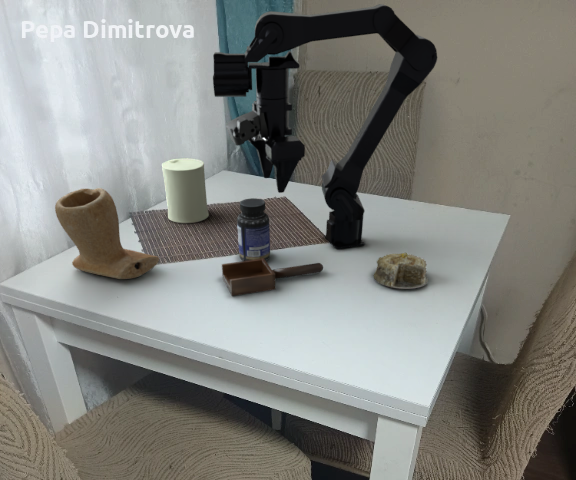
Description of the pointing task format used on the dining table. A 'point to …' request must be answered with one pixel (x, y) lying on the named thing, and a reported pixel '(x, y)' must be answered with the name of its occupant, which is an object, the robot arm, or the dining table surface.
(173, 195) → the can
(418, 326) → the dining table surface
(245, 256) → the pill bottle
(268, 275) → the scoop
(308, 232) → the dining table surface
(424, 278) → the cake
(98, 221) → the clay pipe bowl
